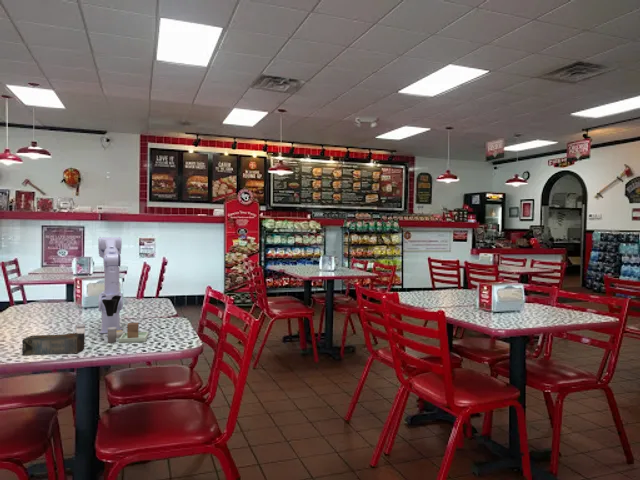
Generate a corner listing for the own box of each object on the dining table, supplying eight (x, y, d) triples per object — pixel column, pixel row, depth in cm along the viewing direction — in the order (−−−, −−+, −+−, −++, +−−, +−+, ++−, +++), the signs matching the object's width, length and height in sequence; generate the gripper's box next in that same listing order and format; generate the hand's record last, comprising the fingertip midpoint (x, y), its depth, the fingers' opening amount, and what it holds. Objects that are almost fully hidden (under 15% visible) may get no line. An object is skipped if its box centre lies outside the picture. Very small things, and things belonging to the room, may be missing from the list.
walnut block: (128, 337, 196) (128, 323, 196) (138, 336, 197) (138, 322, 197) (127, 339, 192) (127, 324, 192) (137, 338, 193) (137, 324, 193)
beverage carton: (30, 350, 176) (30, 333, 176) (85, 348, 179) (85, 331, 179) (21, 356, 168) (21, 337, 168) (79, 354, 172) (79, 336, 172)
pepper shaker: (108, 341, 191) (108, 326, 191) (117, 341, 192) (117, 326, 191) (106, 343, 187) (106, 328, 187) (115, 343, 188) (115, 328, 188)
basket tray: (123, 336, 199) (123, 332, 199) (148, 335, 202) (148, 331, 202) (118, 343, 188) (118, 338, 188) (145, 342, 190) (145, 337, 190)
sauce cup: (113, 336, 201) (113, 330, 201) (123, 335, 202) (123, 329, 202) (111, 338, 197) (112, 332, 197) (122, 337, 198) (122, 331, 198)
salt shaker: (77, 338, 195) (77, 324, 195) (85, 338, 196) (85, 324, 196) (75, 340, 192) (75, 325, 192) (83, 340, 193) (84, 325, 193)
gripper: (105, 280, 203) (105, 312, 203) (97, 284, 189) (97, 317, 189) (122, 280, 204) (122, 311, 205) (116, 284, 190) (116, 317, 190)
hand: (111, 314), depth 197 cm, fingers open, 7 cm apart
